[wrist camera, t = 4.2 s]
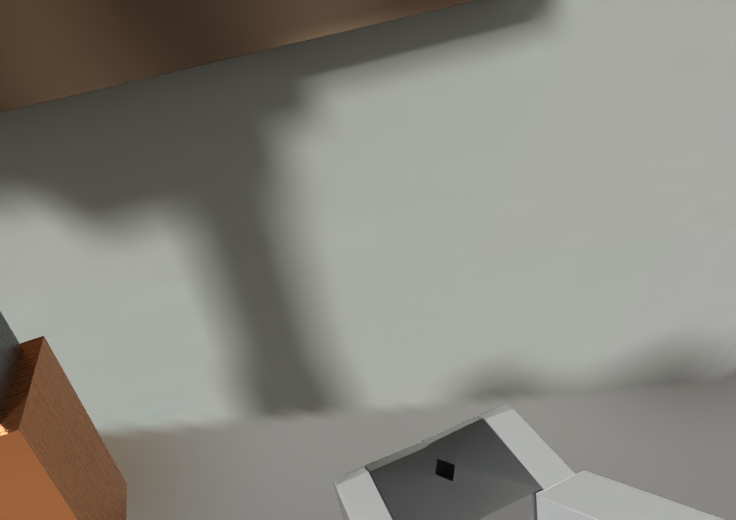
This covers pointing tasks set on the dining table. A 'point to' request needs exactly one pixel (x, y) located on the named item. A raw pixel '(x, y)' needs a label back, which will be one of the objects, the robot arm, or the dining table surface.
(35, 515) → the valve lever
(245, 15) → the base board
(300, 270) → the dining table surface
